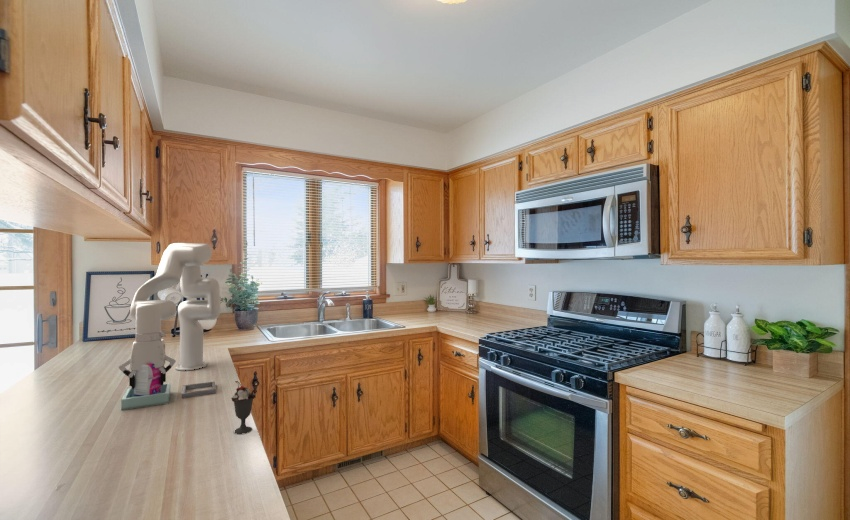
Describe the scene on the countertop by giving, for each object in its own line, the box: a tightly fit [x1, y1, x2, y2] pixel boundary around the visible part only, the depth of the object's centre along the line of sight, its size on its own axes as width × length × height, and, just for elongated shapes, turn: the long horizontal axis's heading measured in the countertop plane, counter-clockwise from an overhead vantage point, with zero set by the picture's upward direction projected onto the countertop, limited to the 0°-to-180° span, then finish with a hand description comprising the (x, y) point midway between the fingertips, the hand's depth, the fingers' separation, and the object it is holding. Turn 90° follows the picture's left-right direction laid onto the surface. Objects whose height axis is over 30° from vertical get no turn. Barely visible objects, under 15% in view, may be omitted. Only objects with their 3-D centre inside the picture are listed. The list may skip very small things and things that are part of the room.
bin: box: [120, 382, 172, 411], centre depth 139 cm, size 13×13×4 cm
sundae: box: [230, 380, 256, 435], centre depth 116 cm, size 7×7×15 cm
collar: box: [181, 381, 217, 399], centre depth 150 cm, size 11×11×2 cm
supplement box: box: [134, 364, 162, 396], centre depth 139 cm, size 6×6×12 cm
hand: (147, 385), depth 139 cm, fingers closed on supplement box, 8 cm apart
